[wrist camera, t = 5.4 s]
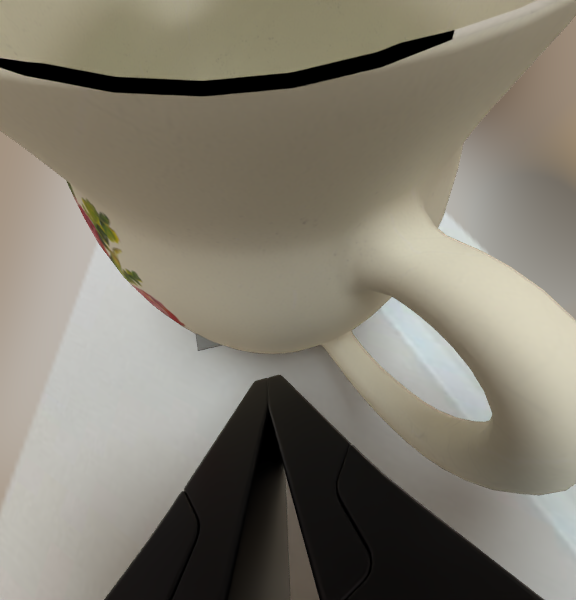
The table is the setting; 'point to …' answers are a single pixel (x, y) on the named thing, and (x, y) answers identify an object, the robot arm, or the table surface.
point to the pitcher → (307, 188)
